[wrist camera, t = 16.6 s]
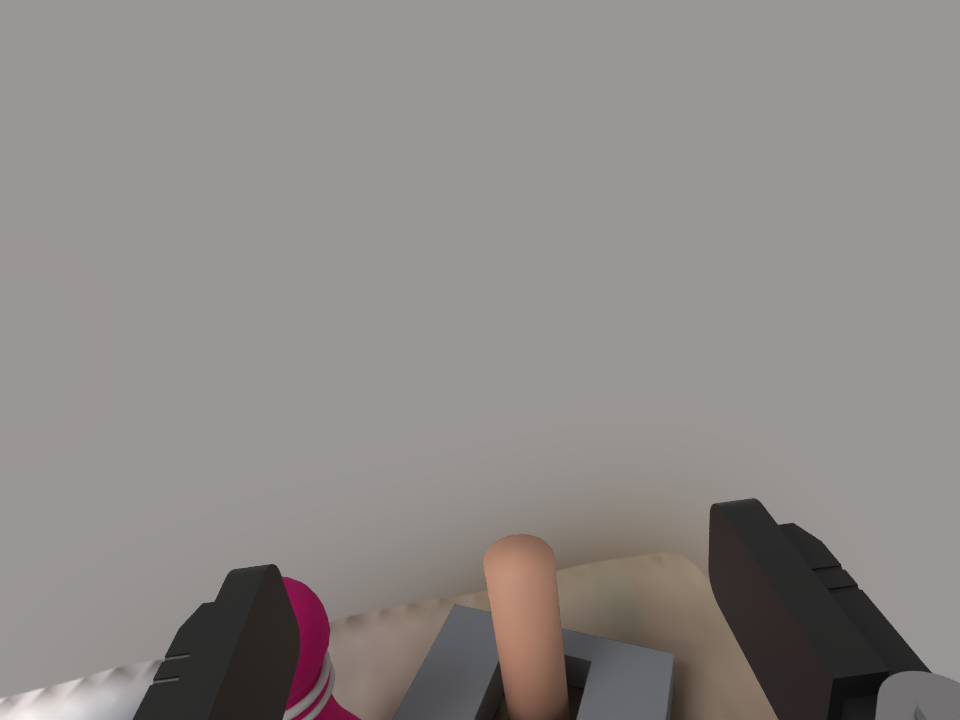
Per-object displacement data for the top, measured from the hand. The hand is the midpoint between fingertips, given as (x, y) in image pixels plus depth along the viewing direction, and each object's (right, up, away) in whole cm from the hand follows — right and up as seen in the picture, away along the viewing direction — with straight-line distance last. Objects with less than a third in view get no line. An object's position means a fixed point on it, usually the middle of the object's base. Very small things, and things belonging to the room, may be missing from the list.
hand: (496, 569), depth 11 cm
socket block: (+4, -20, +28) cm, 35 cm away
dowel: (+4, -20, +28) cm, 35 cm away
